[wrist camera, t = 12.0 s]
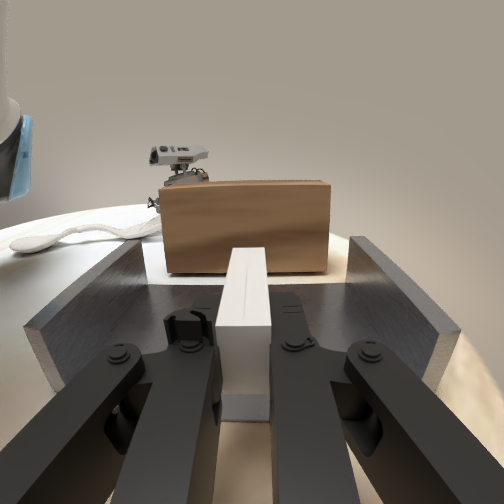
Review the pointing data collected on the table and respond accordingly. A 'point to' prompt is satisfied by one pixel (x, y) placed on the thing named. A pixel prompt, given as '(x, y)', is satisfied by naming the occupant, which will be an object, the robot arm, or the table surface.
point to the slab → (245, 224)
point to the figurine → (178, 164)
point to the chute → (182, 296)
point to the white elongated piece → (45, 241)
